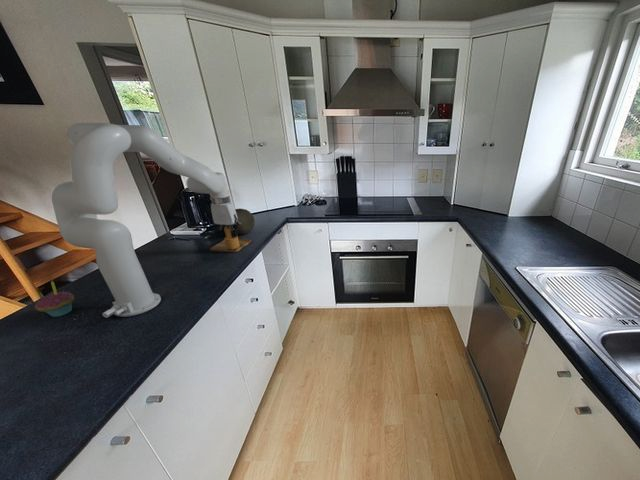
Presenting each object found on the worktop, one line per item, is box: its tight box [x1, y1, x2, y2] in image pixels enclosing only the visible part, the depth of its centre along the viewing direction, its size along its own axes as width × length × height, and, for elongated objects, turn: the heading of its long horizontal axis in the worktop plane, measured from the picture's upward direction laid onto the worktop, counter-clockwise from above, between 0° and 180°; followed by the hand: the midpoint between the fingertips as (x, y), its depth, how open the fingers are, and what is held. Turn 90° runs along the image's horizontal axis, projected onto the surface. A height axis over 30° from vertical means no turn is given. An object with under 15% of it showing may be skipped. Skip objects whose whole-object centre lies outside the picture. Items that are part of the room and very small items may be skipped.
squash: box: [223, 225, 240, 249], centre depth 135 cm, size 6×6×11 cm
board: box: [209, 238, 252, 253], centre depth 142 cm, size 14×14×1 cm
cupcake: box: [34, 279, 75, 318], centre depth 89 cm, size 9×8×12 cm
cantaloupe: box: [227, 208, 256, 236], centre depth 153 cm, size 14×14×15 cm
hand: (230, 236), depth 135 cm, fingers closed on squash, 4 cm apart
